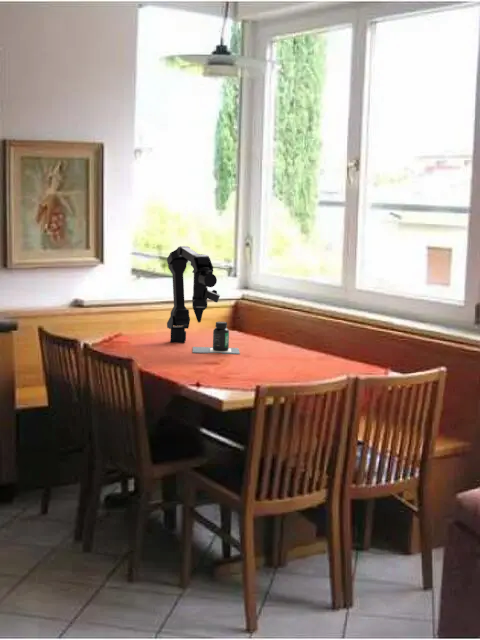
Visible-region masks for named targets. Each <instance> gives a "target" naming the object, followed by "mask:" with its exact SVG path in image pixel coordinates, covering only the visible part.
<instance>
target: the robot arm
mask: <svg viewBox="0 0 480 640" xmlns="http://www.w3.org/2000/svg"><path fill="white" fill-rule="evenodd" d="M166 262H167V265H168V270H169V271H170V273H171V275H172V293H173V294H172V295H173V296H172V297H173V307H172V309H171V311H170V316H169V318H168V320H167V322H166V327H167V329H169V330H170V339H169V342H170V343H173V344H175V343H179V344H184V343H185V342H186V341H187V331H186V329H189V327H190V322H191V318H190V317H191V316H190V310H189V309H187V307H186V306H185V290H184V289H185V285H184V272H185V271H186V269H187V264H188V262H190V266H191V267H192V268H193V269H192V273H193V288H192V289H193V290H192V291H193V292H192V309H193V312H194V315H195V318H196V321H197V323H198V324H199V323H201V322H202V317H203V313H204V311H205V310H206V309H207V308H208V300H211V301H212V302H214V303H218V302H219V299H220V296H221V295H220V294H219V293H218V292H217V291H218V290H216V289H212V291H211V290H208V288H213V287H214V286H216V284H217V282H218V280H217V276H216V275H215V274H214V266H213V263H212V261H211V258H210V256H209V255H208V254H203V253H202V254H200V253H198V252H197V251H195V250H193V249H191V247H190V246H187V245H186V246H185V245H183V246H181V245H180V246H178V247H177V248H176V249H175V250H173V251H171V252H170V253H169V255H168V256H167V259H166Z"/></svg>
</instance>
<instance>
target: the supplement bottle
mask: <svg viewBox="0 0 480 640" xmlns="http://www.w3.org/2000/svg"><path fill="white" fill-rule="evenodd" d="M227 327H228V322H226V321H216V322H215V328H214V329H213V331H212V347H213V350H215V351H228V349H229V348H230V346H229V345H230V330H229V328H227Z"/></svg>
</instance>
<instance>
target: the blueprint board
mask: <svg viewBox="0 0 480 640" xmlns="http://www.w3.org/2000/svg"><path fill="white" fill-rule="evenodd" d="M208 353H222V354H221V355H240V354H241V352H240V348H239V347H229V349H228V351H215V350H213V346H210V347H209V346H192V354H208Z"/></svg>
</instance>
